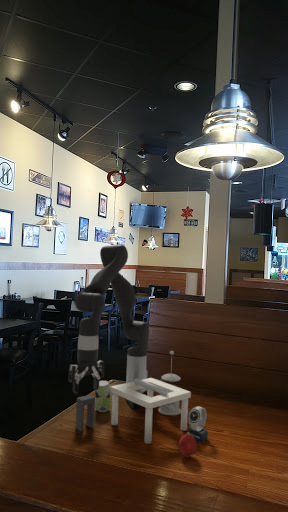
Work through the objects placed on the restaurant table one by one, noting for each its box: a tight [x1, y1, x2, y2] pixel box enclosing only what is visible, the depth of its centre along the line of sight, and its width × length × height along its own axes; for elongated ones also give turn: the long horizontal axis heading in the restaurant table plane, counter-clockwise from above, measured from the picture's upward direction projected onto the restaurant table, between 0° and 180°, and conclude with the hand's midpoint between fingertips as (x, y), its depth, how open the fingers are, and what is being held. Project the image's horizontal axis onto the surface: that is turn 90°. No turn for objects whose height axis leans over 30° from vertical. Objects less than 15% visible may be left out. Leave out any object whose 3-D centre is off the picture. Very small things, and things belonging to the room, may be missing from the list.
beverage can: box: [94, 380, 111, 413], centre depth 165 cm, size 6×7×12 cm
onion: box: [178, 431, 198, 458], centre depth 128 cm, size 6×6×8 cm
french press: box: [156, 350, 181, 416], centre depth 169 cm, size 10×12×25 cm
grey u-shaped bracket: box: [75, 394, 96, 432], centre depth 147 cm, size 6×4×11 cm, turn 131°
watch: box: [187, 405, 209, 444], centre depth 142 cm, size 6×8×11 cm
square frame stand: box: [110, 377, 192, 445], centre depth 151 cm, size 21×22×16 cm
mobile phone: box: [125, 399, 140, 410], centre depth 176 cm, size 5×3×15 cm
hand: (85, 391), depth 148 cm, fingers open, 8 cm apart
